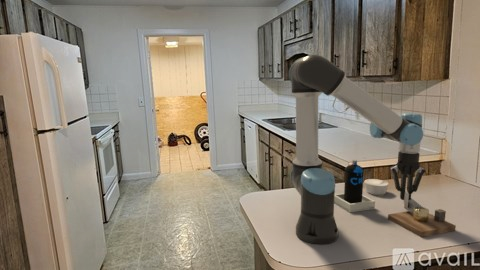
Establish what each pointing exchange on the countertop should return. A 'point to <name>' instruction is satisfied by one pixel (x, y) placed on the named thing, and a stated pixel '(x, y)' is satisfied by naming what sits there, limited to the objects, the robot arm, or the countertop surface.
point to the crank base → (423, 223)
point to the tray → (354, 207)
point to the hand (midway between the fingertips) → (404, 207)
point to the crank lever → (417, 211)
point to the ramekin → (376, 186)
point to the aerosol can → (353, 183)
